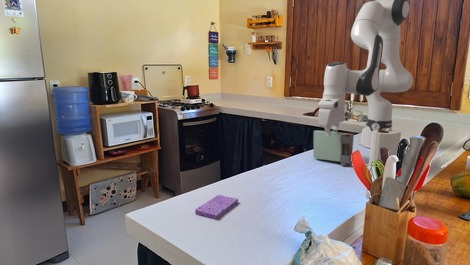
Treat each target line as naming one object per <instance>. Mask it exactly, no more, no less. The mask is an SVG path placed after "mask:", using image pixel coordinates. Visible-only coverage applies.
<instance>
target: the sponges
mask: <svg viewBox="0 0 470 265" xmlns="http://www.w3.org/2000/svg"><path fill="white" fill-rule="evenodd" d="M238 202H239V198H237V197H236V198H235V197H229V196H226V195H225V196H224V195H221V194H217V195H216V196H214V197H212V198H211V199H209V200H208V201H206V202H205V203H203V204H201V205H200V206H198V207H196V208H195V212H194V213H195V215H199V216H203V217H206V218H210V219H214V220H218V219H219V218H220V217H221V216H222V215H224V214H225V213H227V212H228V211H229V210H230V209H232V208H233V207H234V206H236V205H237V204H238Z"/></svg>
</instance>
